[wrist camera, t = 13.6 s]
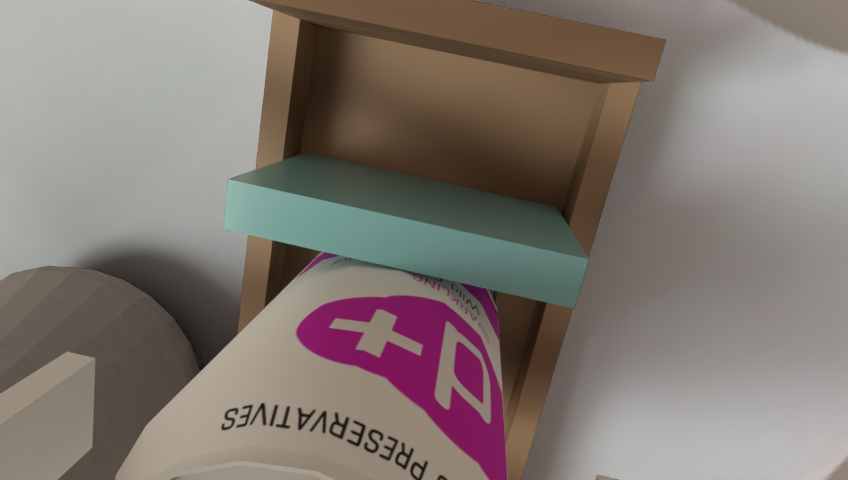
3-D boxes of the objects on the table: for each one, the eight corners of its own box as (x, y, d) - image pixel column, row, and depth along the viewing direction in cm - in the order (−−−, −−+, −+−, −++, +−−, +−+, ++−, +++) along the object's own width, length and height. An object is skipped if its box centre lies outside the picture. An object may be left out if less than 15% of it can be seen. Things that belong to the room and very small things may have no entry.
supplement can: (399, 172, 22) (240, 324, 8) (538, 309, 23) (626, 670, 9) (275, 299, 24) (-28, 603, 10) (407, 420, 25) (304, 857, 11)
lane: (485, 544, 28) (485, 717, 20) (242, 483, 28) (153, 629, 21) (626, 63, 21) (706, 48, 13) (303, -3, 22) (204, -54, 14)
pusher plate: (547, 241, 22) (574, 308, 15) (300, 187, 23) (222, 229, 16) (556, 206, 22) (589, 259, 15) (305, 152, 22) (227, 179, 15)
